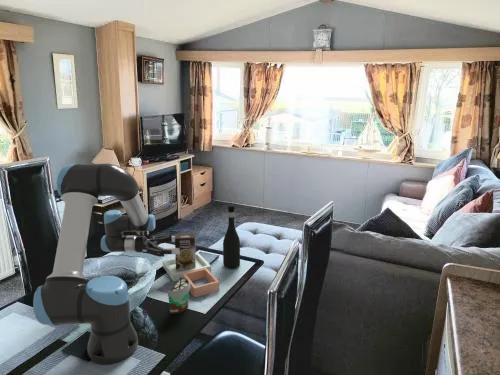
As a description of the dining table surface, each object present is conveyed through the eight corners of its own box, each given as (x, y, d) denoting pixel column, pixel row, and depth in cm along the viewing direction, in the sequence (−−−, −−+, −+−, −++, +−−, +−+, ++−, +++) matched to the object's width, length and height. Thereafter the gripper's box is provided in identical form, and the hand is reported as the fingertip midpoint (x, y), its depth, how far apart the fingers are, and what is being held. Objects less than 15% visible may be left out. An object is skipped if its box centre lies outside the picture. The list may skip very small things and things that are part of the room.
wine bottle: (220, 264, 172) (219, 205, 165) (233, 260, 177) (233, 202, 170) (229, 271, 166) (229, 209, 159) (243, 266, 171) (243, 206, 163)
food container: (184, 318, 131) (183, 293, 129) (168, 315, 133) (167, 291, 130) (195, 299, 143) (195, 277, 141) (181, 297, 144) (180, 275, 142)
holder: (194, 297, 145) (194, 288, 144) (182, 281, 157) (182, 273, 156) (219, 290, 150) (219, 281, 149) (206, 276, 162) (206, 267, 161)
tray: (173, 281, 157) (172, 275, 156) (162, 266, 170) (162, 260, 170) (211, 271, 166) (211, 265, 165) (198, 258, 179) (198, 252, 178)
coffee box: (175, 271, 163) (174, 238, 159) (176, 265, 170) (175, 233, 166) (196, 270, 165) (194, 237, 161) (196, 264, 171) (195, 232, 167)
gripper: (145, 240, 178) (187, 241, 178) (127, 263, 154) (176, 265, 154) (144, 226, 177) (187, 227, 176) (126, 247, 152) (176, 248, 152)
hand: (182, 245), depth 165 cm, fingers open, 13 cm apart
